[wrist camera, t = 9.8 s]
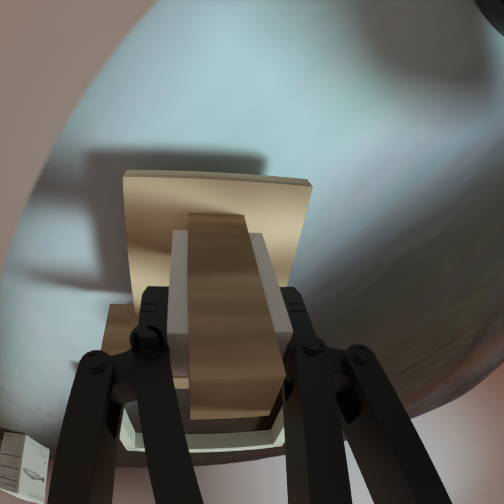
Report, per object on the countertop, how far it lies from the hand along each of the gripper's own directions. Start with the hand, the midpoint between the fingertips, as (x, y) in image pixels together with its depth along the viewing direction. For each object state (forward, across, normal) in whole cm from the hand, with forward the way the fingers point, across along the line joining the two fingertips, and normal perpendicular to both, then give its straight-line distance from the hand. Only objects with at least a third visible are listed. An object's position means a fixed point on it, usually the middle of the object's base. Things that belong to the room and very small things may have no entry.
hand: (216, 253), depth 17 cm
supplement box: (+5, -34, -49) cm, 60 cm away
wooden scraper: (+3, 0, -2) cm, 3 cm away
